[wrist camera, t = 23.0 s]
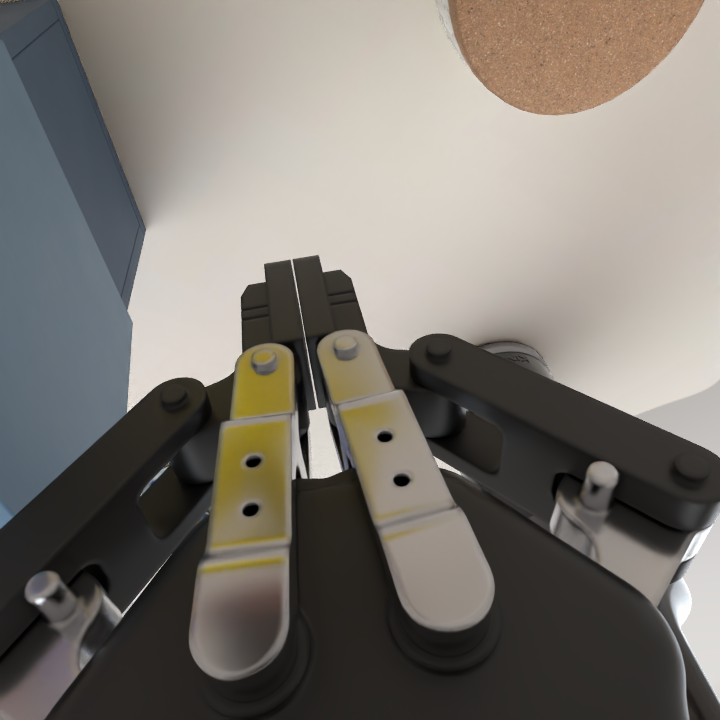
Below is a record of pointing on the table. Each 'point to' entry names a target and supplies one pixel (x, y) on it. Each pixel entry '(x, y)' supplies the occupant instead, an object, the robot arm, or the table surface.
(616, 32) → the trinket box
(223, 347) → the table surface
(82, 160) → the storage box
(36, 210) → the lid
